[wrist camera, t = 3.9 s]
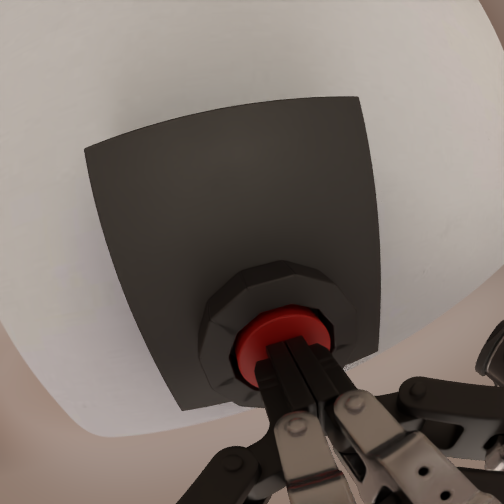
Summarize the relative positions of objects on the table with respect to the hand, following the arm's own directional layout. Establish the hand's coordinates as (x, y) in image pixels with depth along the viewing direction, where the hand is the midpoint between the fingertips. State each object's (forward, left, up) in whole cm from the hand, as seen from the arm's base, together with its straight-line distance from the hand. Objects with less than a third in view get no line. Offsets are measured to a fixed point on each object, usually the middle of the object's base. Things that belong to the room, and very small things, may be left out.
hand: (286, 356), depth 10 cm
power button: (0, 0, -2) cm, 2 cm away
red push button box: (+3, 0, -6) cm, 7 cm away
